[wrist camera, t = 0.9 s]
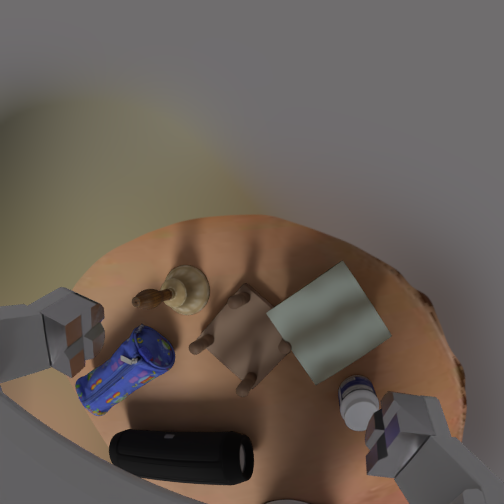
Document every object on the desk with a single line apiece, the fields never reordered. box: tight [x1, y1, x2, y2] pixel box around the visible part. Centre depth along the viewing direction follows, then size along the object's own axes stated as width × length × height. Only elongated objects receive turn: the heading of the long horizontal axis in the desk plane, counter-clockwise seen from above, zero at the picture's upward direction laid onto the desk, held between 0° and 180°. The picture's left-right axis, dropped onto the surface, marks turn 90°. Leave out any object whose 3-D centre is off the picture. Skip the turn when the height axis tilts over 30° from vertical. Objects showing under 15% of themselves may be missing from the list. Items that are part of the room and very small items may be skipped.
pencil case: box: [75, 324, 175, 416], centre depth 51 cm, size 22×9×10 cm, turn 129°
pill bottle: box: [338, 375, 379, 431], centre depth 42 cm, size 6×6×10 cm
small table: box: [266, 261, 392, 385], centre depth 44 cm, size 12×12×8 cm
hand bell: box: [132, 265, 210, 315], centre depth 46 cm, size 8×8×16 cm
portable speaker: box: [109, 429, 254, 485], centre depth 48 cm, size 26×10×10 cm, turn 101°
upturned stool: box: [189, 283, 292, 397], centre depth 47 cm, size 12×12×8 cm
